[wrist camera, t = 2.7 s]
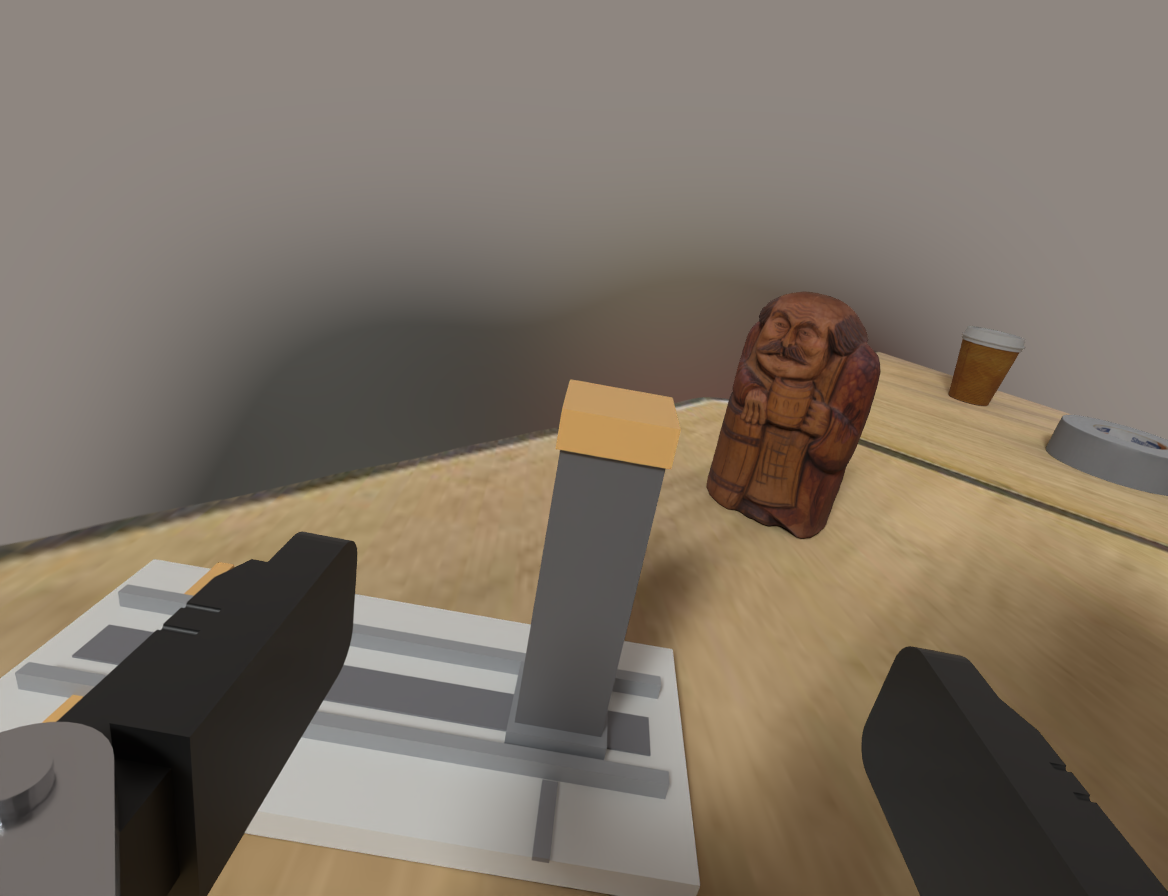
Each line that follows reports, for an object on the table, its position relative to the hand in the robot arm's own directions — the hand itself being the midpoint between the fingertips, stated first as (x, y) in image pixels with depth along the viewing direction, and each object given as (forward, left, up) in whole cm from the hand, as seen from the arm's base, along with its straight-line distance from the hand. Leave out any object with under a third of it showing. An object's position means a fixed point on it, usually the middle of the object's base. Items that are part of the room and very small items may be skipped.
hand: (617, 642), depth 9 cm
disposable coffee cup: (-65, -101, -16) cm, 121 cm away
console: (+8, -13, -16) cm, 22 cm away
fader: (0, -13, -15) cm, 20 cm away
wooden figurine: (-15, -41, -16) cm, 47 cm away
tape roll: (-70, -73, -17) cm, 103 cm away
